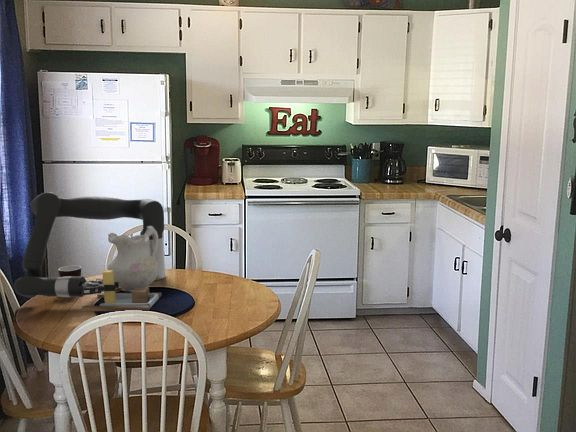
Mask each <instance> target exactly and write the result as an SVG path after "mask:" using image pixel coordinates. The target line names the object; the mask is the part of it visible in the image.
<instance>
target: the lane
mask: <svg viewBox="0 0 576 432" xmlns="http://www.w3.org/2000/svg"><path fill="white" fill-rule="evenodd" d="M150 293H151V292H149V294H150ZM158 293H159V298H161V297H162V292H158ZM115 294H132V292H115ZM97 298H98V299H100V298H101V299H102V298H103V299H104V292H101V293H100V294H97ZM150 309H151V308H150V306H100V305H83V306H81V312H122V311H121V310H147V311H150ZM147 311H146V312H147Z"/></svg>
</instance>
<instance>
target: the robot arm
mask: <svg viewBox="0 0 576 432" xmlns="http://www.w3.org/2000/svg"><path fill="white" fill-rule="evenodd" d="M30 210H31V212H32V213H33V214H34V215H35V216H36V217H35V223H34V225H33V230H32V231H31V235H30V237H29V240H28V242H27V245H26V247H25V250H24V255H23V260H22V264H21V267H22V269H23V271H24V276H20V277H18V278H17V279H16V280H15V281H14V283H13V290H14V292H15V293H16V294H17V295H18V296H21V297H24V298H30V299H31V298H34V297H36V296H43V297H62V298H83V297H84V296H88V295H90V296H91V295H96V294H100V293H104V292H105V291H115V292H116V290H117V289H119V288H120V287H119V282H114V285H103V278H95V279H89V280H88V281H87V280H86V277H84V276H82V275H81V276H68V277H60V276H57V277H56V276H55V277H54V276H52V277H43V274H42V273H43V272H42V271H43V268H42V267H43V266H44V265H43V264H44V260H45V256H46V251H47V248H48V243H49V239H50V235H51V231H52V229H53V226H54V224H55V221H56V218H62V217H64V218H65V217H66V218H76V219H84V220H99V221H101V220H103V221H104V220H105V221H106V220H107V221H108V220H109V221H110V220H116V219H122V218H128V219H136V220H141V221H142V230H141V231H140V233H139V235H144V234H145V232H146V227H147V226H148V227H149V226H151V225H152V226H153V228H154V229H155V230H156V231H157V234H158V247H157V251H156V253H155V259H156V261H157V262H158V265H159V271H158V275H157V277H156V279H155V280H154V281H157V280H162V279H165V278H166V264H165V263H166V262H165V250H164V249H165V248H164V247H165V245H164V236H163V235H164V231H165V213H164V208H163V205H162V203H160V202H159V201H157V200H155V199H150V198H142V199H141V198H140V199H123V198H117V197H109V196H100V195H99V196H95V195H94V196H93V195H91V196H89V195H87V196H79V197H59V196H58V195H57V194H56V193H54V192H51V191H47V192H42V193H40V194H38V195H36V196H35V197H34V198H33V199H32V200H31V202H30ZM152 246H153V236H152V235H151V236H149V242H148V245H147V252H148V254H149V255H151V251H152Z"/></svg>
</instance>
